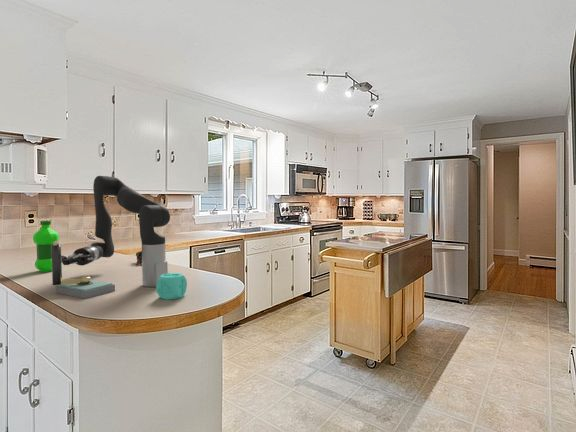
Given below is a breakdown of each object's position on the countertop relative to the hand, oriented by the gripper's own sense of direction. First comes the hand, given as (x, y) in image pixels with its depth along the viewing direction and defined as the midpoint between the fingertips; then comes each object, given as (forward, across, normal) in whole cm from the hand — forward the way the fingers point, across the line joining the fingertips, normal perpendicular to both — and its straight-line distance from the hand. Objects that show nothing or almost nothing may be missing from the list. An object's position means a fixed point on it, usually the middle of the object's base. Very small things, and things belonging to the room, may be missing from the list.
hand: (65, 262), depth 135 cm
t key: (+5, +5, +7) cm, 10 cm away
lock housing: (+3, +9, +11) cm, 14 cm away
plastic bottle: (-40, -29, +11) cm, 51 cm away
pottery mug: (-57, +13, +11) cm, 59 cm away
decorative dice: (+14, +44, +11) cm, 47 cm away
